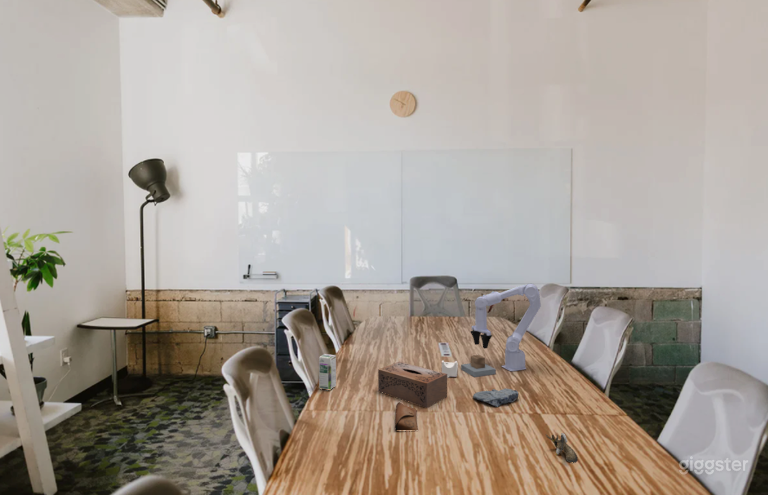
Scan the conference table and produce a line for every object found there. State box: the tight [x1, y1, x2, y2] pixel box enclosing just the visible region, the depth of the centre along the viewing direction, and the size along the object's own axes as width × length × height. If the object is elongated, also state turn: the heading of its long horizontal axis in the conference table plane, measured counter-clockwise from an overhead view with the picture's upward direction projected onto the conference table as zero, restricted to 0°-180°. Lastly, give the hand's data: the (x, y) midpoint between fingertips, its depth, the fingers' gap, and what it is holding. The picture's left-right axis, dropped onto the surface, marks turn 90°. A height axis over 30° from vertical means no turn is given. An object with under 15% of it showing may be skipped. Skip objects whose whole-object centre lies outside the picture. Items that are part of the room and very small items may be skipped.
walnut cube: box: [470, 354, 486, 369], centre depth 203 cm, size 5×5×5 cm
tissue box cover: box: [377, 361, 448, 409], centre depth 176 cm, size 26×14×10 cm, turn 48°
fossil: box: [472, 388, 519, 408], centre depth 170 cm, size 13×18×4 cm
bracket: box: [441, 360, 459, 379], centre depth 202 cm, size 13×7×8 cm, turn 168°
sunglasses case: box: [394, 401, 419, 431], centre depth 151 cm, size 18×7×7 cm
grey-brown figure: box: [545, 432, 578, 464], centre depth 127 cm, size 8×7×9 cm
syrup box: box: [318, 353, 337, 390], centre depth 183 cm, size 6×6×14 cm
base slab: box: [460, 362, 497, 378], centre depth 204 cm, size 12×12×2 cm
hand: (480, 346), depth 213 cm, fingers open, 7 cm apart
